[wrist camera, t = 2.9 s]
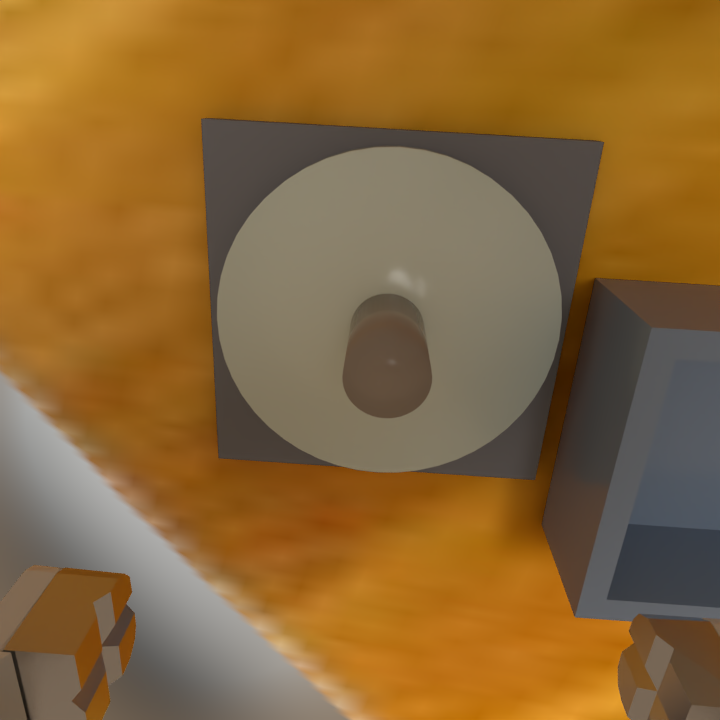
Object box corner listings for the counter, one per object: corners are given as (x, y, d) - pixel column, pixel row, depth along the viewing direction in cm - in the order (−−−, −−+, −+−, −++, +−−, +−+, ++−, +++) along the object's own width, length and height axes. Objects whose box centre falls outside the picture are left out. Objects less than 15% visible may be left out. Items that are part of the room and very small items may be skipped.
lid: (215, 135, 21) (162, 147, 16) (585, 155, 21) (647, 174, 16) (230, 449, 26) (193, 531, 21) (525, 468, 26) (558, 555, 21)
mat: (207, 117, 22) (201, 118, 21) (596, 140, 21) (603, 142, 21) (223, 448, 27) (218, 458, 27) (531, 469, 27) (534, 479, 26)
